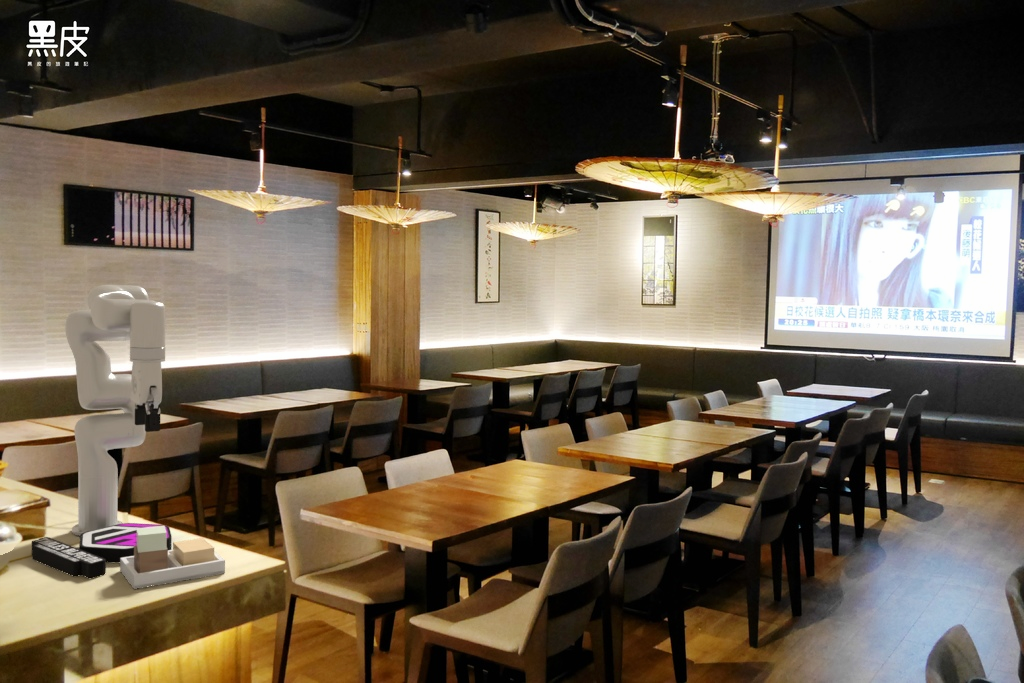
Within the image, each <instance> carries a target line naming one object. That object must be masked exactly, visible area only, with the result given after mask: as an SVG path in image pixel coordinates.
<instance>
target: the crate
mask: <svg viewBox="0 0 1024 683" xmlns="http://www.w3.org/2000/svg"><path fill="white" fill-rule="evenodd" d="M119 566H120V567H119V571H121V572H122V573H121V572H120V573H121V574H122V576H123V575H124V576H125V577H126V578H125V577H124V578H125V579H127V580H128V581H129V582H128V581H127V580H126V581H127V582H128V583H129V585H130V584H131V585H132V586H131V585H130V586H131V587H132V589H133V588H134V589H136V590H138V589H137V588H141V589H143V588H142V587H147V586H151V585H152V587H154V586H153V585H158V586H160V585H159V584H164V585H166V584H165V583H169V584H172V583H171V582H175V583H177V582H176V581H180V582H183V581H182V580H186V581H190V580H189V579H191V580H196V579H195V578H197V579H200V577H203V578H206V577H205V576H208V577H212V575H214V576H217V575H216V574H219V575H223V574H222V573H225V574H226V559H224V558H223V557H222V556H220V554H219V553H217V552H216V551H215V547H214V546H213V545H212V544H210V543H209V542H208V541H207V540H206V539H205V538H203V537H201V538H191V539H188V540H187V539H186V540H180V541H173V542H172V549H171V550H168V569H162V570H156V571H150V572H144V573H137V572H136V570H135V569H134V556H129V557H123V558H120V563H119ZM147 588H148V587H147ZM134 589H133V590H134Z"/></svg>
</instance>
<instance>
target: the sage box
mask: <svg viewBox="0 0 1024 683" xmlns="http://www.w3.org/2000/svg"><path fill="white" fill-rule="evenodd" d="M137 550H138V553H140V552H149V551H159V550H167V532H166V529H165V526H155V527H144V528H137Z"/></svg>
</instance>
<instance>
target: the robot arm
mask: <svg viewBox="0 0 1024 683" xmlns="http://www.w3.org/2000/svg"><path fill="white" fill-rule="evenodd" d="M149 298H150V297H149V294H148V293H147V291H146V290H145V288H143V287H142V286H140V285H134V284H133V285H132V284H131V285H128V284H126V285H125V284H123V285H122V284H101V285H98V286H95V287H94V288H92V289H91V290H90V291H89V293H88V295H87V297H86V301H87V302H86V303H87V306H88V308H89V309H79V310H75V311H72V312H70V313H69V314H68V315H67V317H66V319H65V323H64V325H65V327H64V328H65V329H64V330H65V335H66V336H65V337H66V340H67V343H68V345H69V348H70V351H71V353H72V355H73V358H74V361H75V372H76V373H75V374H76V385H77V386H76V387H77V398H78V402H79V405H80V407H81V408H82V409H85V410H87V411H88V410H89V411H97V410H99V411H100V410H101V411H102V410H103V411H104V410H115V409H116V410H117V409H120V410H121V409H122V410H123V412H122V413H121V412H120V413H103V414H92V415H87V416H84V417H81V418H80V419H78V420H77V421H76V423H75V425H74V438H75V445H76V451H77V458H78V459H77V465H78V466H77V468H78V472H77V473H78V474H77V475H78V477H77V478H78V487H77V488H78V490H77V492H78V494H77V496H78V499H77V500H78V501H77V502H78V505H77V506H78V507H77V508H78V515H77V516H78V518H77V519H78V520H77V521H78V522H77V524H75V525H73V526H72V528H71V533H72V534H73V535H75V536H78V535H79V536H78V537H80V535H81V534H82V533H84V532H87V531H91V530H96V529H100V528H104V527H109V526H113V525H117V524H123V523H124V522H123V521H120V520H118V491H119V489H118V486H119V485H118V481H119V480H118V478H119V477H118V473H119V472H118V464H117V461H116V460H115V458H113V457H112V456H111V455H110V454H109V453H108V451H109V450H114V449H115V450H116V449H124V448H134V447H138V446H140V445H142V444H143V443H144V442H145V440H146V433H149V432H152V433H153V432H160V431H161V403H162V400H163V398H162V397H163V376H162V362H163V363H164V362H166V306H165V305H164V303H163V302H159V301H156V300H153V299H149ZM108 341H109V342H110V341H111V342H118V341H121V342H122V341H123V342H124V341H126V342H127V341H129V362H131V363H132V366H131V374H130V373H117V374H116V373H113V372H112V369H111V368H112V367H111V357H110V356H109V353H108V352H107V351H106V350H105V349H104V348H103V347H102V346H101V345H100V343H98V342H108Z"/></svg>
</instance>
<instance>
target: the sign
mask: <svg viewBox="0 0 1024 683" xmlns="http://www.w3.org/2000/svg"><path fill="white" fill-rule="evenodd" d="M122 523H123V524H117V525H113V526H109V527H104V528H100V529H96V530H91V531H87V532H84V533H82V534H81V535H80V536H79V547H76V546H72V545H69V544H67V543H64V542H63V541H59V540H57V539H54V538H52V537H48V536H45V537H40V538H38V539H35V540H31V558H32V560H33V561H35V562H37V561H38V562H37V563H40V562H41V563H40V564H42V563H43V565H44V564H46V565H45V566H47V565H48V567H49V566H50V568H52V567H53V568H52V569H54V568H55V569H54V570H57V569H58V570H57V571H59V570H60V572H61V571H63V572H62V573H64V572H65V573H64V574H66V573H68V574H67V575H69V574H70V576H71V575H73V576H72V577H74V576H76V577H79V576H78V575H80V576H81V575H83V576H82V577H84V576H86V577H88V578H87V579H89V578H91V579H94V578H93V577H95V578H98V577H97V576H99V577H101V576H100V575H102V576H104V574H105V573H106V574H107V570H106V569H107V566H106V565H107V564H106V563H107V562H120V558H123V557H129V556H134V545H137V528H144V527H155V526H165V529H166V532H167V548H168V550H172V533H171V529H170V527H169V526H168V525H165V524H152V523H135V522H134V523H133V522H122ZM106 574H105V575H106ZM86 577H85V578H86Z"/></svg>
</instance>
